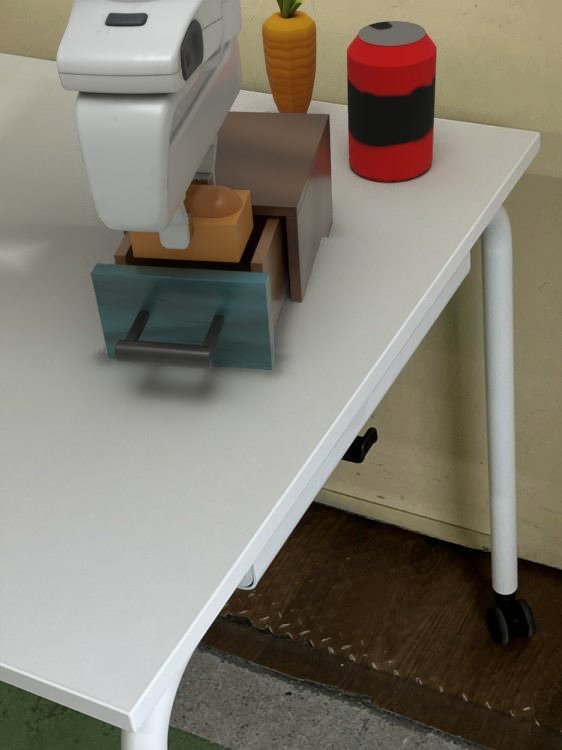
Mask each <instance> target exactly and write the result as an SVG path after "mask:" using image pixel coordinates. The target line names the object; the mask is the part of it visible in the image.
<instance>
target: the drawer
mask: <svg viewBox="0 0 562 750" xmlns="http://www.w3.org/2000/svg"><path fill="white" fill-rule="evenodd" d="M252 217H253V229H252V232H251V234H250V237H249V239H248V242H247V244H246V246H245V249H244V251H243V254H242V256H241V259H240V261H239V262H238V263H236V262H216V261H197V260H178V259H158V258H139V257H134V254H133V249H132V243H131V238H130V232H129V231H128V232H127V233H126V235H125V236H124V237H123V238H122V241H121V242H120V244H119V245H118V247H117V248H116V251H115V252H114V254H113V259H114V263H113V264H112V263H111V264H110V263H97V262H96V264H95V265H94V267H92V270H91V272H90V277H91V281H92V287H93V291H94V296H95V301H96V306H97V311H98V316H99V320H100V324H101V330H102V335H103V339H104V344H105V349H106V353H107V358H108V359H114V360H116V362H118V363H127V364H138V365H139V364H140V365H153V366H154V365H155V366H165V367H166V366H167V367H181V368H192V369H208V370H210V369H212V368H213V367H225V368H236V369H237V368H238V369H250V370H264V371H273V369H274V368H275V362H276V359H277V358H276V350H275V349H276V347H275V335H274V334H275V331H276V328H277V326H278V321H279V318H280V316H281V312H282V309H283V306H284V304H285V300H286V297H287V294H288V291H289V289H290V276H289V260H288V244H287V228H286V216H268V215H252Z"/></svg>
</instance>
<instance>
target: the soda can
mask: <svg viewBox="0 0 562 750" xmlns="http://www.w3.org/2000/svg"><path fill="white" fill-rule="evenodd" d="M437 49H438V48H437V45H436V44H435V42H434V41H433V39H432V38H431V37H430V36H429V34H428V33H427V30H426V29H425V28H424V27H423V26H422V25H419V24H418V23H417V24H416V23H414V22H409V21H401V20H387V21H380V22H379V21H378V22H374V23H370V24H367V25H365V26H364V27H362V28H361V29H359V30H358V32H357V34H356V36H355V37H354V38H353V40H352V41H351V42H350V44H349V45H348V47H347V48H346V81H347V82H346V84H347V91H346V92H347V133H348V134H347V137H348V138H347V139H348V140H347V141H348V164H349V166H350V167H351V169H353V171H354V172H355V173H356V174H357V175H359V176H361V177H362V178H365V179H368V180H371V181H376V182H383V183H384V182H386V183H389V182H390V183H391V182H392V181H395V182H401V181H400V180H403V181H407V180H406V179H408V180H411V179H414V178H416V176H417V177H418V175H419V176H421V175H422V174H424V173H425V172H426V171H427V170H428V169H429V168H430V166H431V165H432V163H433V159H434V158H433V156H434V155H433V154H434V131H435V130H434V129H435V107H436V106H435V105H436V104H435V101H436V77H437V54H438V53H437V51H438V50H437ZM424 171H425V172H424ZM420 174H421V175H420ZM410 178H411V179H410Z"/></svg>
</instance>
